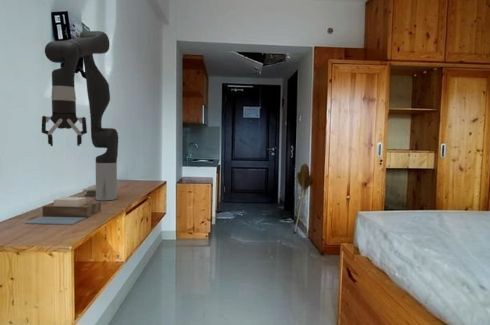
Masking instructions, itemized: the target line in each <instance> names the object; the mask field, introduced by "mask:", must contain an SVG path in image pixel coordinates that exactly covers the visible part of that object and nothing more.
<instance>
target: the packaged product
mask: <svg viewBox="0 0 490 325" xmlns="http://www.w3.org/2000/svg"><path fill="white" fill-rule="evenodd" d="M82 192H86V197H96V184H94V185H90V186H88V187H86V188H83V189H82Z"/></svg>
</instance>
